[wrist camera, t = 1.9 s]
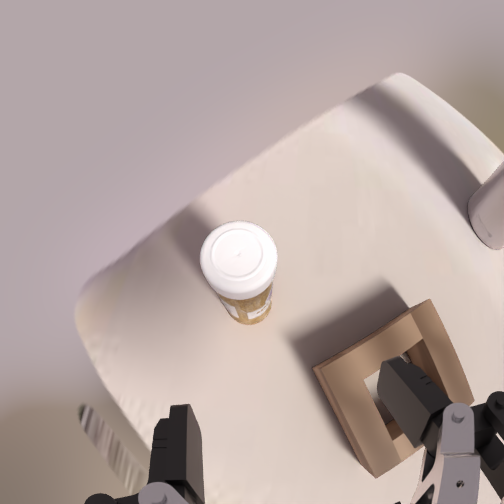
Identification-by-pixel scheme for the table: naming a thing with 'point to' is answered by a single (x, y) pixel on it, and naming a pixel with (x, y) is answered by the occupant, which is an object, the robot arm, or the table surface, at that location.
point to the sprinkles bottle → (241, 269)
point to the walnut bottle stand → (369, 361)
